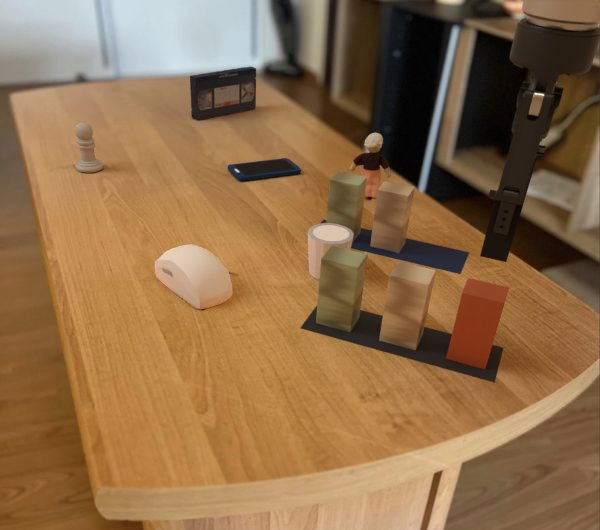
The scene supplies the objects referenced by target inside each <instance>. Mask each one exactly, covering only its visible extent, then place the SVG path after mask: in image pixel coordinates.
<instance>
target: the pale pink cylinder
mask: <svg viewBox="0 0 600 530" xmlns="http://www.w3.org/2000/svg"><path fill="white" fill-rule="evenodd" d="M320 223H321V222H320ZM320 223H317V224H314V225H312V226H310V227H309V228H308V230H307V237H308V238H307V250H308V252H307V253H308V255H307V256H308V257H307V258H308V272H309V274H310V275H311V276H312V277H313V278H314V279H316V280H319V279H320V267H321V258H322V257H323V256H324V255H325V253H326V252H327V251H328V250H329V248H330V247H331V246H336V247H340V248H344V249H348V250H352V248H351V245H352V240H353V235H354V233H353V232H352V231H351V230H350V229H349V228H347V227H345V226H342V225H339V224H333V223H321V224H320Z"/></svg>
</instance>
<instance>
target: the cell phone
mask: <svg viewBox="0 0 600 530" xmlns="http://www.w3.org/2000/svg"><path fill="white" fill-rule="evenodd" d="M227 170H228V171H229V172H230V173H231V174H232V175H233V176H234V177H235V179H237V180H238V181H240V182H245V181H253V180H261V179H269V178H276V177H277V178H278V177H284V176H291V175H299V174H301V173H302V169H301V167H300V166H298V165H297V164H296V163H295V162H294V161H292V160H291V159H289V158H287V157H282V158H274V159H266V160H257V161H249V162H240V163H239V162H238V163H231V164H228V165H227Z"/></svg>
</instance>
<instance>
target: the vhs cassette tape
mask: <svg viewBox="0 0 600 530" xmlns="http://www.w3.org/2000/svg"><path fill="white" fill-rule="evenodd" d="M256 78H257V67H254V66H243V67H236V68H231V69H224V70H218V71H211V72H205V73H200V74H199V73H198V74H194V75H189V86H190V88H189V90H190V109H191V111H190V114H191V118H192V119H193V120H196V121H203V120H208V119H213V118H217V117H218V118H219V117H223V116H228V115H234V114H239V113H243V112H247V111H252V110H256V108H257V79H256Z"/></svg>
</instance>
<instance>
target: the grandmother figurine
mask: <svg viewBox="0 0 600 530" xmlns="http://www.w3.org/2000/svg"><path fill="white" fill-rule="evenodd" d="M383 144H384V137H383V135H382V134H381V133H379V132H372V133H369V135H367V136H366V138H365V140H364V144H363V145H364V146H365V147H366V149H367V151H368V152H362V153H360V154H359V155H357V156H356V157H355V158H354V159H353V160H352V163H351V166H350V167H349V171H351V172H355V170H356V168H357V167H359V166H362V168H361V172H360V176H363V177H367V180H366V189H365V197H364V201H367V200H368V199H369V198H370V201H371V202H375V203H376V199H377V191H378V189H379V187H380V186H381V179H382V178H381V177H382V172H381V168H382V169H383V171H384V173H385V177H386V178H390V177H391V176H392V173H391V168H390V164H389V162H388V161H387V159H386V157H385V156H384V155H383V154H380V153H378V152H380V151H381V148H382V147H383Z"/></svg>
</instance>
